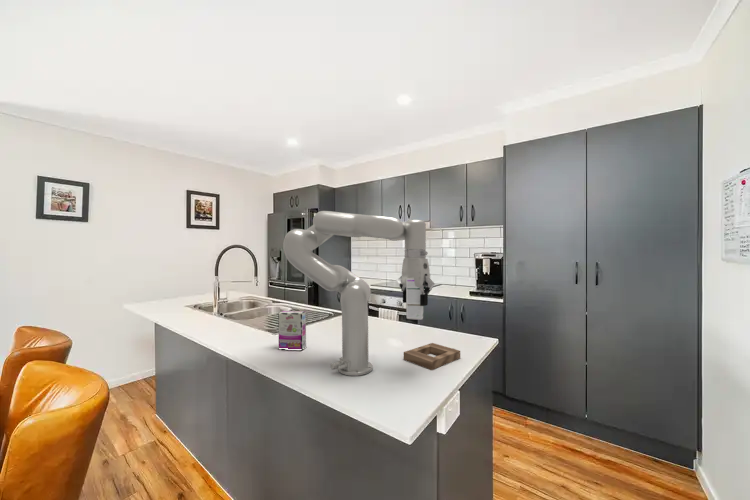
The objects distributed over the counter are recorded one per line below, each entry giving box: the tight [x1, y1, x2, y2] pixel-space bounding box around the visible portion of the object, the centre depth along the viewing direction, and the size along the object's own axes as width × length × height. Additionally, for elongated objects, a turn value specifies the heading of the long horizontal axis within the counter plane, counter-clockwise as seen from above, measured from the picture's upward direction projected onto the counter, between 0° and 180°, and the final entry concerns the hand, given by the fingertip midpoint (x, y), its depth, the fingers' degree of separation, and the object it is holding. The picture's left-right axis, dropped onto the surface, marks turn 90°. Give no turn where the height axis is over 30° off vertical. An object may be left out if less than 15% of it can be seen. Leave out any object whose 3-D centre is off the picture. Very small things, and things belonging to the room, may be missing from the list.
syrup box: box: [405, 278, 424, 321], centre depth 106 cm, size 6×6×14 cm
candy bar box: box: [277, 310, 307, 349], centre depth 132 cm, size 11×5×16 cm, turn 80°
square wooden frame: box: [403, 342, 461, 371], centre depth 118 cm, size 18×14×3 cm
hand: (414, 303), depth 106 cm, fingers closed on syrup box, 7 cm apart
